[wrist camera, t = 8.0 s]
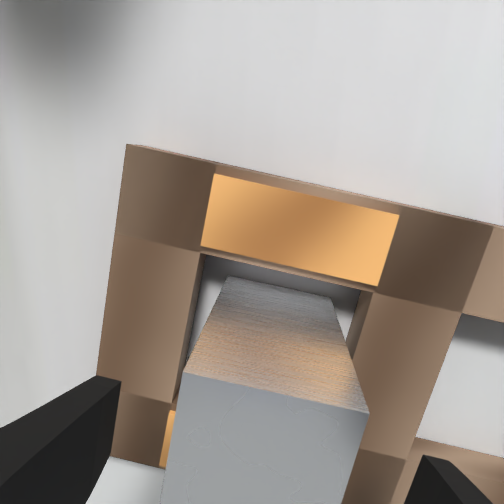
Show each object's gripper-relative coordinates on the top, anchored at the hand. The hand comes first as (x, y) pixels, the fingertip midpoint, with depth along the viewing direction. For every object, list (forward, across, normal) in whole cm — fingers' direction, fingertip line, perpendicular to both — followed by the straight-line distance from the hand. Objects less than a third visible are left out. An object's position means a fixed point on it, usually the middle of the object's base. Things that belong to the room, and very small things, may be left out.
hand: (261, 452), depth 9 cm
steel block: (+6, 0, 0) cm, 7 cm away
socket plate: (+6, -4, 0) cm, 8 cm away
